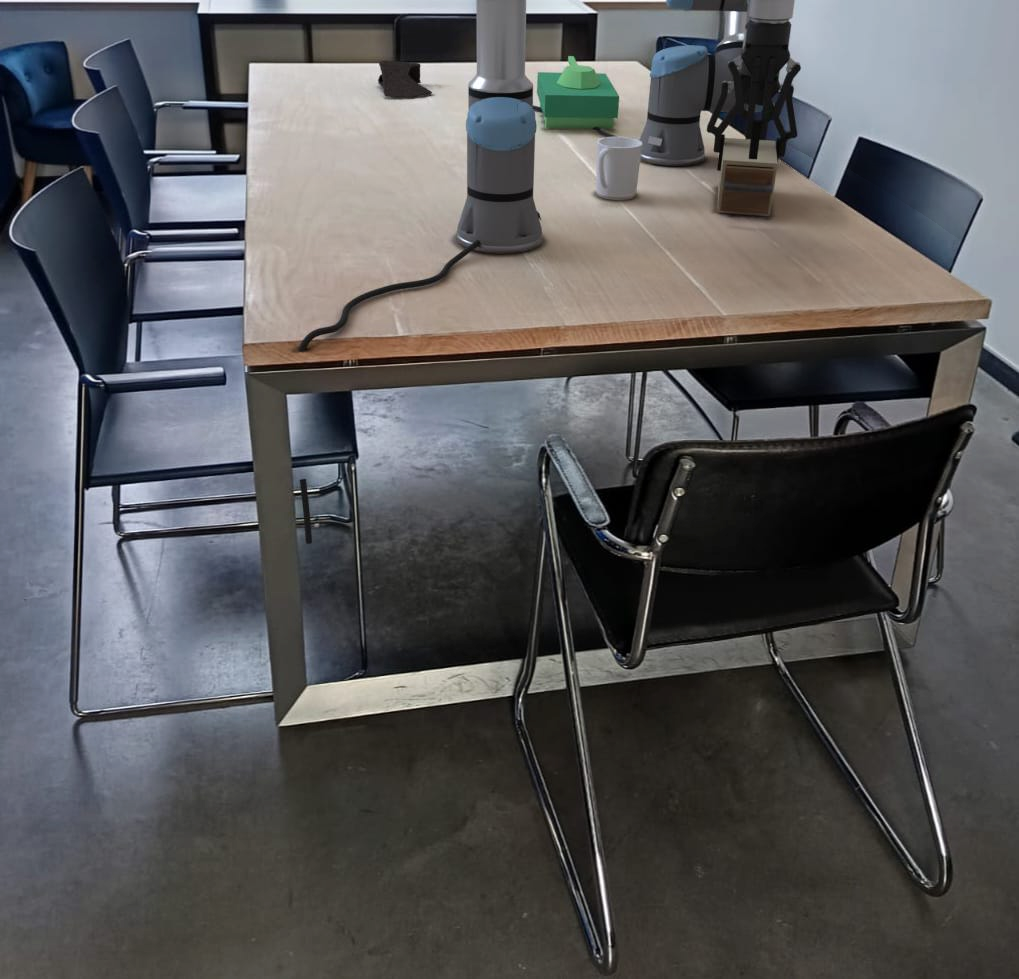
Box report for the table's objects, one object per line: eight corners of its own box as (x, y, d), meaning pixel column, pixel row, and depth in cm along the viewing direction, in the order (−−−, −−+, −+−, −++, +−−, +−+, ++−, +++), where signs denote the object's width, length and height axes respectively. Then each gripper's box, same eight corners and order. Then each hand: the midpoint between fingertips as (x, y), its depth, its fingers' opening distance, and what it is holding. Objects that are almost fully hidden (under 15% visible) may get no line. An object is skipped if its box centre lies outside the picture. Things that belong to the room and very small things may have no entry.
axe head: (443, 87, 294) (392, 77, 287) (436, 115, 299) (385, 106, 292) (421, 62, 307) (371, 52, 300) (414, 89, 311) (365, 80, 304)
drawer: (768, 222, 205) (774, 178, 201) (719, 218, 206) (725, 174, 202) (765, 190, 223) (771, 148, 218) (721, 187, 224) (726, 145, 220)
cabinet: (769, 216, 211) (777, 163, 206) (716, 212, 213) (723, 159, 207) (767, 191, 226) (775, 140, 220) (718, 187, 227) (724, 137, 222)
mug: (610, 185, 226) (613, 134, 221) (646, 193, 222) (651, 142, 216) (579, 196, 219) (581, 144, 214) (615, 205, 214) (619, 152, 209)
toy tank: (603, 52, 288) (620, 79, 258) (599, 101, 294) (616, 133, 265) (536, 51, 287) (546, 78, 257) (534, 99, 294) (543, 131, 264)
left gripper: (807, 18, 192) (788, 154, 204) (731, 15, 194) (717, 150, 206) (809, 24, 185) (789, 164, 198) (731, 21, 187) (716, 160, 200)
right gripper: (821, 53, 210) (803, 169, 221) (702, 47, 213) (690, 162, 224) (824, 60, 203) (805, 179, 215) (701, 54, 206) (688, 171, 218)
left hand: (752, 157), depth 202 cm, fingers closed
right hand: (746, 170), depth 220 cm, fingers closed on cabinet, 10 cm apart
